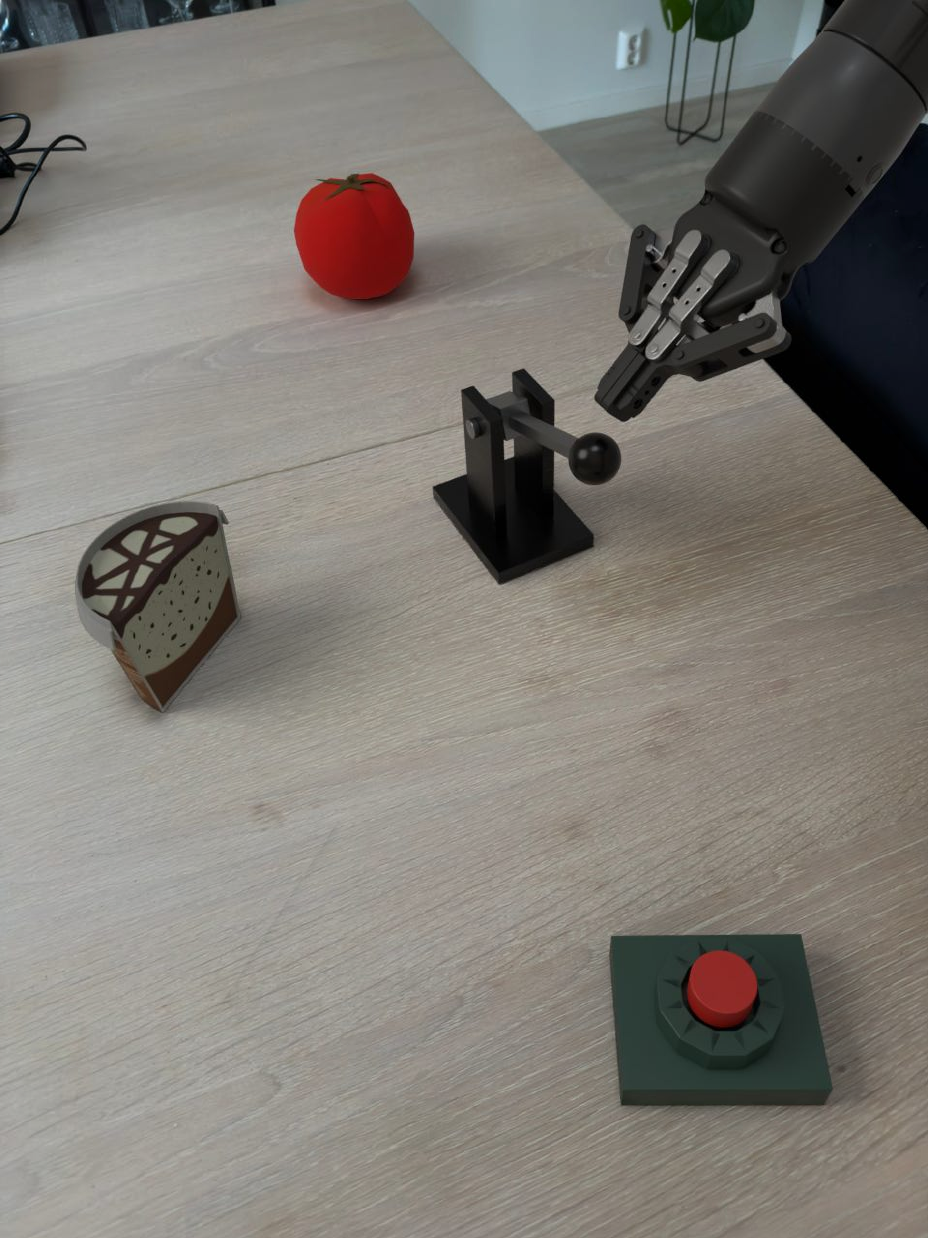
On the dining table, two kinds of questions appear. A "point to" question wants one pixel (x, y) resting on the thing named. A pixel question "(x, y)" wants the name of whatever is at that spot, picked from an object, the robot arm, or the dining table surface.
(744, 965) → the button
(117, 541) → the cake slice
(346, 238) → the tomato
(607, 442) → the lever
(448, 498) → the black bracket
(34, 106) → the dining table surface
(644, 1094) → the control block
